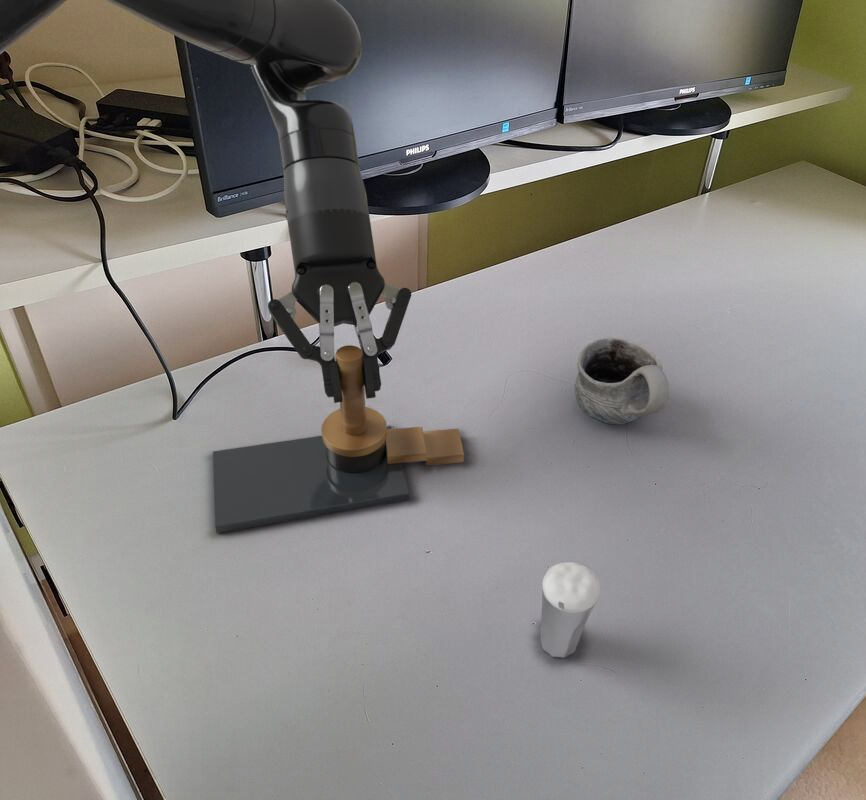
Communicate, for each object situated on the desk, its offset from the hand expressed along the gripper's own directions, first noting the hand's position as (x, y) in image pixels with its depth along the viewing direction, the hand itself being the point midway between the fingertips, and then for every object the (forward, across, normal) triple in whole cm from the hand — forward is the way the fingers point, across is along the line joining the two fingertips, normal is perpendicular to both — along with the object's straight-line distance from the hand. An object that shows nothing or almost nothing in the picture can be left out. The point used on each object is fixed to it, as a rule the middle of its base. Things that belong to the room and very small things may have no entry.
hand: (355, 399), depth 71 cm
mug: (+6, +30, +9) cm, 32 cm away
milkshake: (+24, +13, -9) cm, 29 cm away
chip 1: (+5, +5, +8) cm, 11 cm away
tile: (+7, -5, +8) cm, 11 cm away
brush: (+5, 0, +8) cm, 9 cm away
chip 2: (+6, +9, +8) cm, 14 cm away
